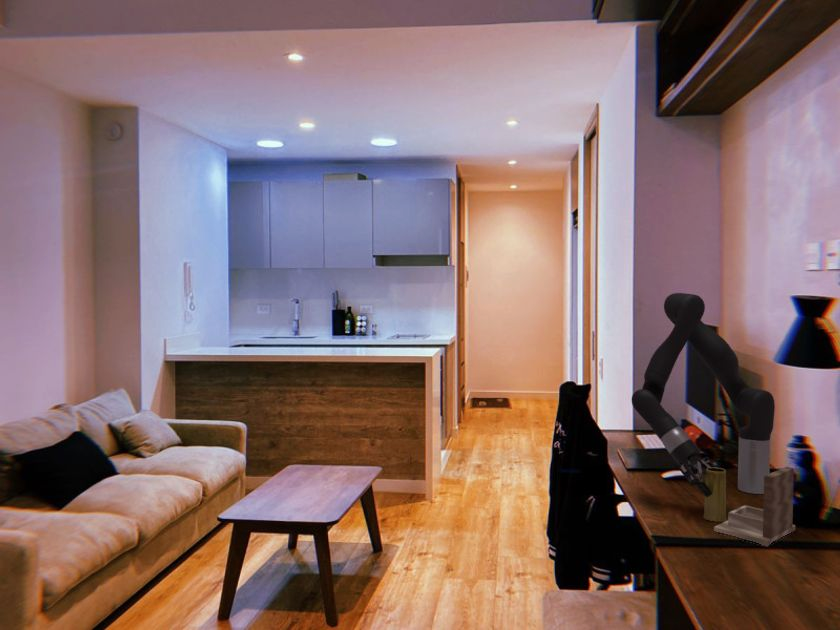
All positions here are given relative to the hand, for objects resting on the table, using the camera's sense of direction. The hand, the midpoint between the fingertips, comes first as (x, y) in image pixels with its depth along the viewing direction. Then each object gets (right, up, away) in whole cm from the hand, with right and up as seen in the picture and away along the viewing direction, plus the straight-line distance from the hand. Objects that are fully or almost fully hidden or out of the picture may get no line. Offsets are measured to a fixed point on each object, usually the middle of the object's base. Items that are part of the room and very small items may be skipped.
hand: (717, 492), depth 201 cm
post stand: (+6, -8, -10) cm, 14 cm away
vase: (0, -8, +1) cm, 8 cm away
